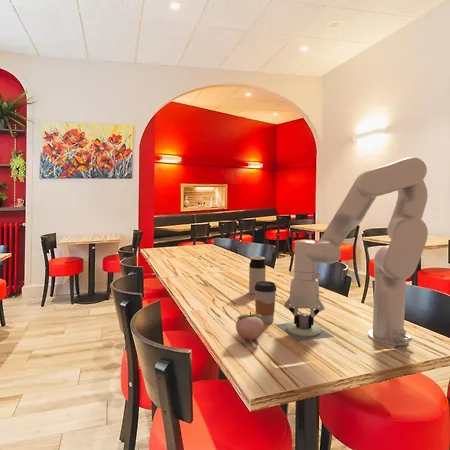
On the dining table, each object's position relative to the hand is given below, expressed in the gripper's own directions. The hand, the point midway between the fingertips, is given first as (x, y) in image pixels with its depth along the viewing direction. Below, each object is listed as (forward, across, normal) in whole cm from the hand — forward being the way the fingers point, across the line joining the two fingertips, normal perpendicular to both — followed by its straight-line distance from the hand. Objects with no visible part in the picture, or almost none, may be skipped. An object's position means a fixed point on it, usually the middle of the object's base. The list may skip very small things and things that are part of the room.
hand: (303, 326), depth 124 cm
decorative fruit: (+2, +17, +13) cm, 22 cm away
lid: (+1, 0, 0) cm, 1 cm away
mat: (+2, 0, 0) cm, 2 cm away
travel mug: (+2, +22, -48) cm, 52 cm away
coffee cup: (+2, +14, -7) cm, 16 cm away
